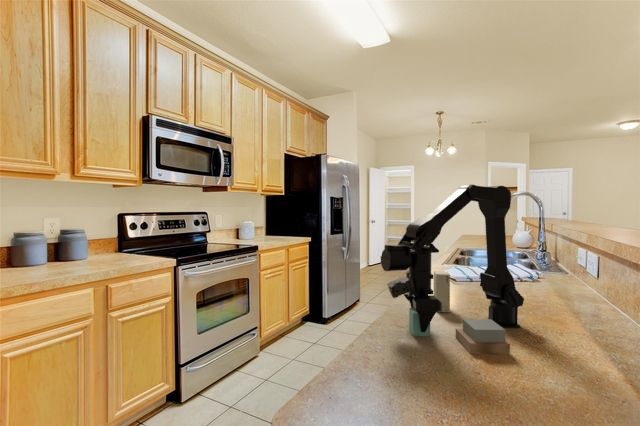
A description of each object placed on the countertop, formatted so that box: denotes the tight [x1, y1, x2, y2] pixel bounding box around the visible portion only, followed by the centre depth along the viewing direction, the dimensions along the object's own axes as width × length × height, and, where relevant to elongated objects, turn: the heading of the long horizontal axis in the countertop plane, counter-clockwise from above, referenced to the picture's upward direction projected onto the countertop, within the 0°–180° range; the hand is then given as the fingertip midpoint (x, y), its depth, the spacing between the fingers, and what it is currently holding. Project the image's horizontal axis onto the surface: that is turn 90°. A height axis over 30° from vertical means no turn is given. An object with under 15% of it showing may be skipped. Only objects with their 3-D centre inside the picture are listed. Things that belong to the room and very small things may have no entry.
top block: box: [462, 318, 507, 343], centre depth 80 cm, size 7×7×3 cm
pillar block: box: [408, 307, 431, 337], centre depth 89 cm, size 4×4×6 cm
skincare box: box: [433, 270, 451, 314], centre depth 108 cm, size 6×4×12 cm
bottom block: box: [455, 328, 511, 356], centre depth 81 cm, size 9×9×3 cm
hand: (419, 326), depth 89 cm, fingers open, 7 cm apart
